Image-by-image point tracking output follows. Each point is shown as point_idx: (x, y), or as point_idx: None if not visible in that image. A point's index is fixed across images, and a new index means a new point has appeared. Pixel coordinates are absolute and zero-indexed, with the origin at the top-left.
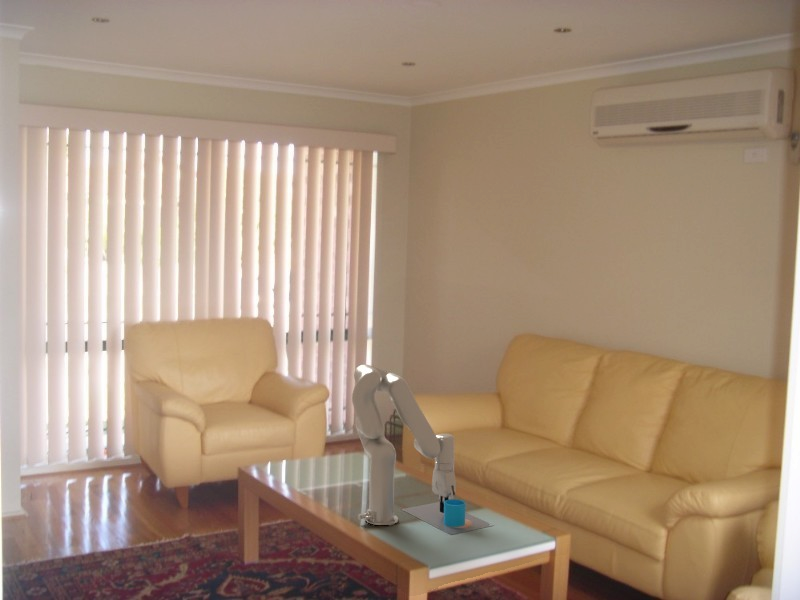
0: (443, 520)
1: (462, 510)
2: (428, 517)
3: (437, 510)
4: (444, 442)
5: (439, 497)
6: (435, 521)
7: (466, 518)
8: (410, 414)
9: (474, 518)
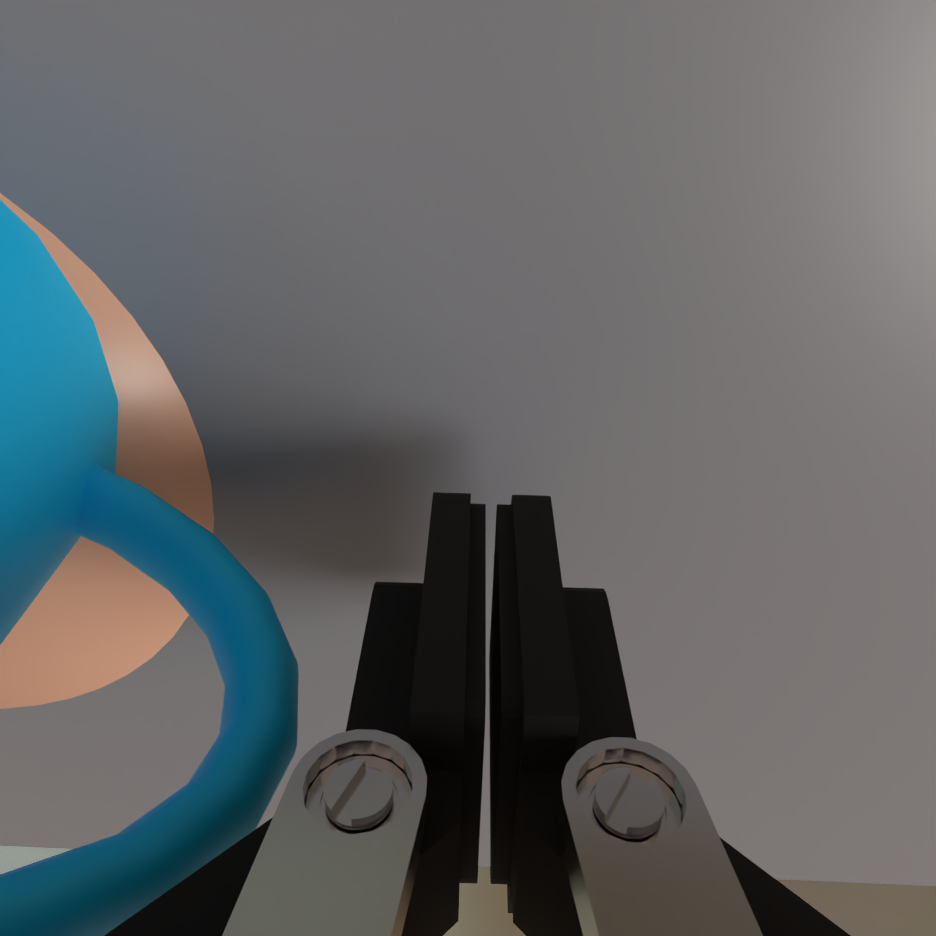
0: (156, 282)
1: None
2: (613, 56)
3: (854, 595)
4: None
5: (677, 914)
6: (167, 6)
7: (102, 725)
8: None
9: (53, 806)
